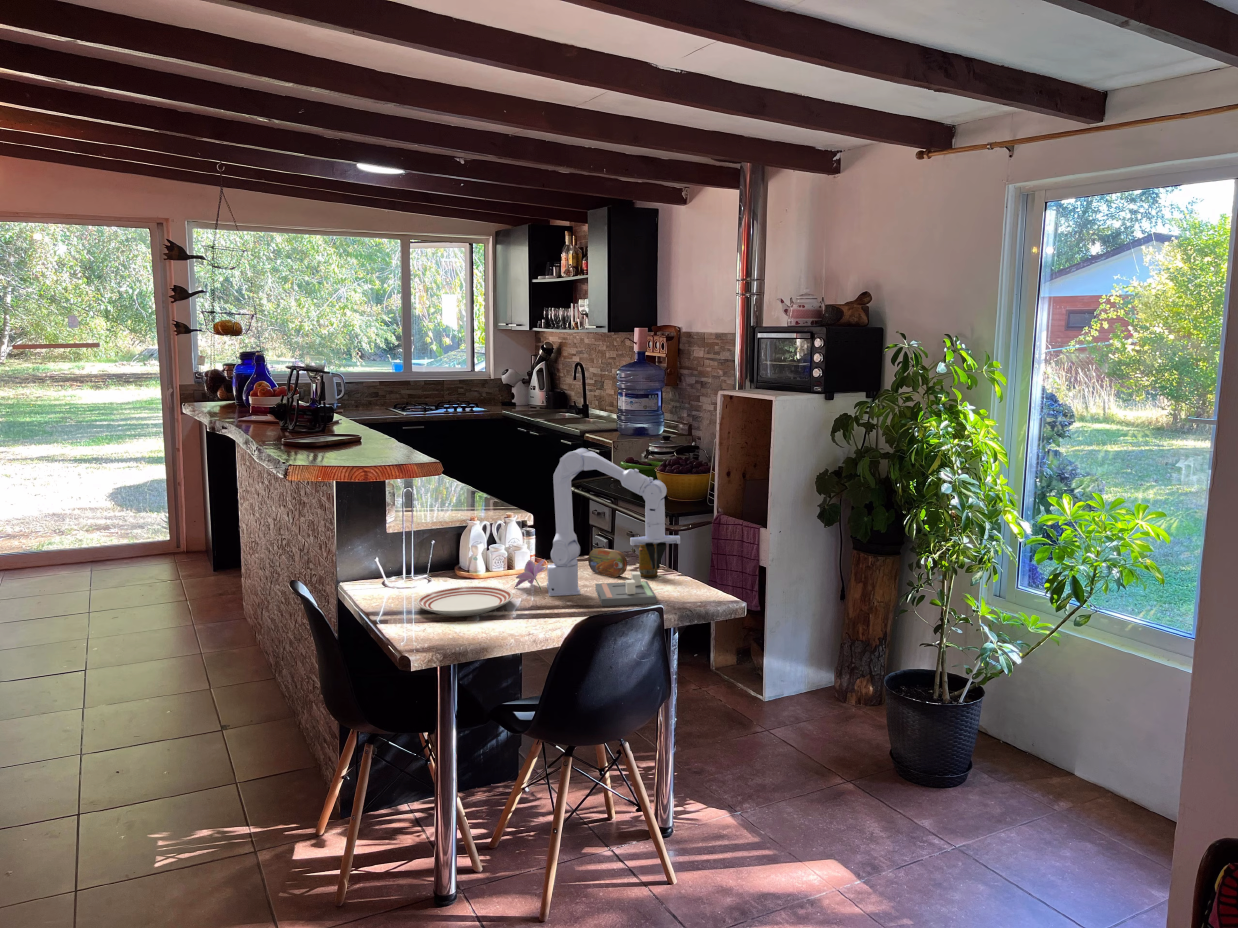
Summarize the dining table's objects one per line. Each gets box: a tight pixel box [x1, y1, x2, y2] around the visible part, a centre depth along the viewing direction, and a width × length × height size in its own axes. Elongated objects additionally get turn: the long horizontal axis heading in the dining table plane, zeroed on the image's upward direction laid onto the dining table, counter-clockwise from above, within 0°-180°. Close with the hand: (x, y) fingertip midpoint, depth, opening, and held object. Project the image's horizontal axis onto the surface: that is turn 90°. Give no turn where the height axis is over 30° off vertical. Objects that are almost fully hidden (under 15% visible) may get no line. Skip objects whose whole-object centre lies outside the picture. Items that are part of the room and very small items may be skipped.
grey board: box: [594, 580, 657, 607], centre depth 276 cm, size 16×17×2 cm
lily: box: [513, 558, 547, 591], centre depth 286 cm, size 12×12×10 cm
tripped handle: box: [625, 579, 635, 594], centre depth 271 cm, size 2×3×4 cm
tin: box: [587, 547, 628, 578], centre depth 301 cm, size 15×3×8 cm, turn 50°
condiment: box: [638, 544, 668, 581], centre depth 298 cm, size 7×8×12 cm
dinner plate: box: [416, 585, 514, 617], centre depth 267 cm, size 27×27×3 cm
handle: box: [630, 571, 642, 586], centre depth 280 cm, size 2×3×4 cm
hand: (655, 567), depth 271 cm, fingers closed
